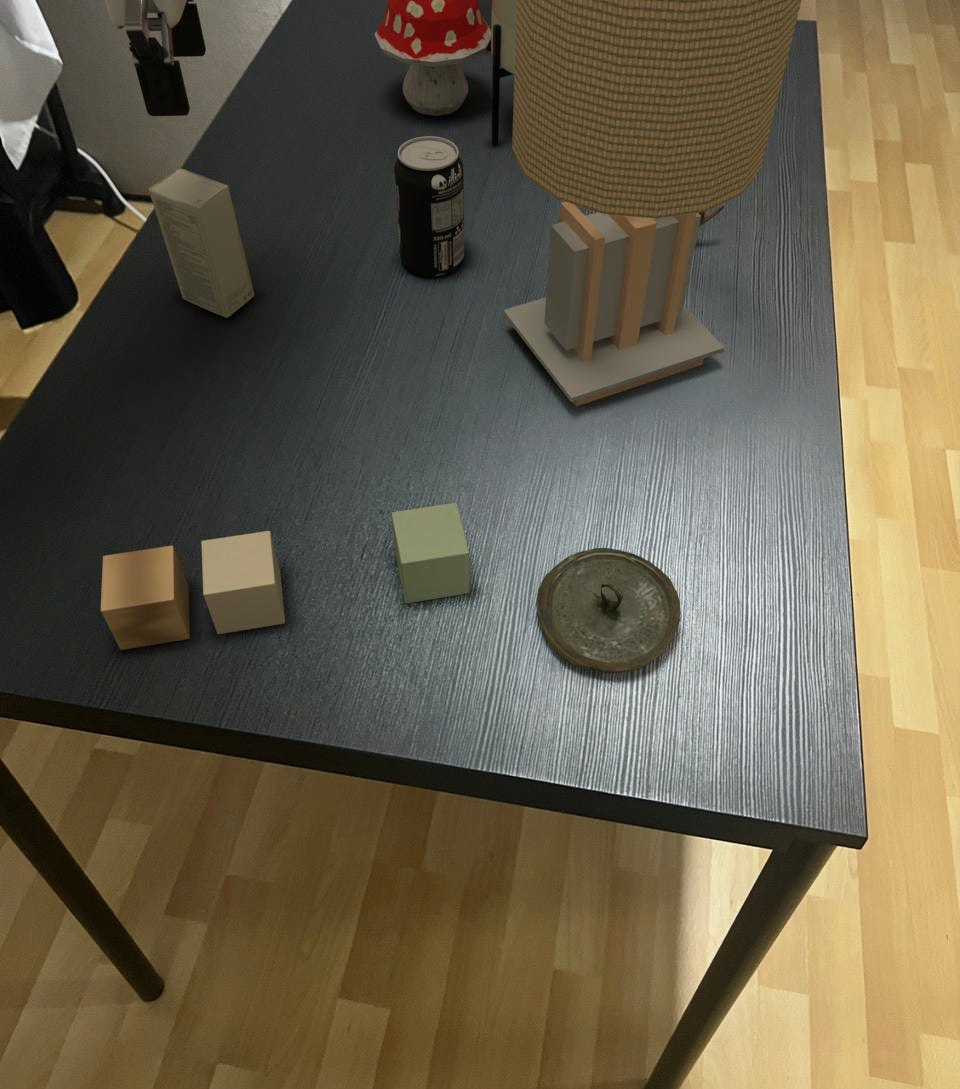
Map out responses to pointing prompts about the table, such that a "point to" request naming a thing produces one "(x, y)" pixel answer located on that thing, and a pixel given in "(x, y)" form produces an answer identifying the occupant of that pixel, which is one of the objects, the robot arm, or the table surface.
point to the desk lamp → (636, 169)
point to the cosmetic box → (203, 241)
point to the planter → (501, 52)
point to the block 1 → (145, 597)
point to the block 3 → (431, 552)
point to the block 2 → (242, 582)
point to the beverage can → (430, 205)
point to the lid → (608, 610)
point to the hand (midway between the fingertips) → (178, 83)
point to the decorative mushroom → (434, 49)
